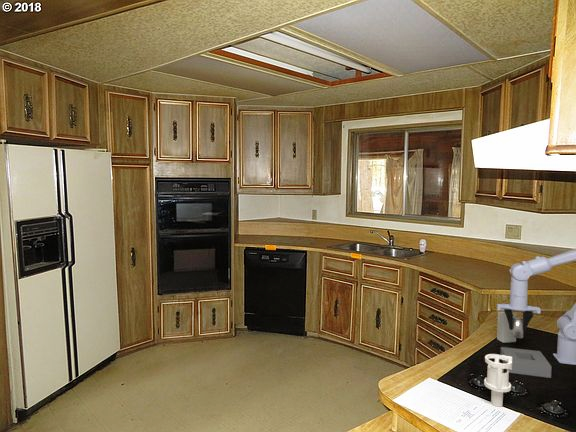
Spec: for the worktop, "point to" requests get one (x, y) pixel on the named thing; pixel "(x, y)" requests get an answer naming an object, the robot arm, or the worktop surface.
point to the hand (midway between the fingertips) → (517, 329)
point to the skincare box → (504, 328)
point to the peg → (517, 327)
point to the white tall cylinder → (497, 377)
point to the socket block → (527, 362)
